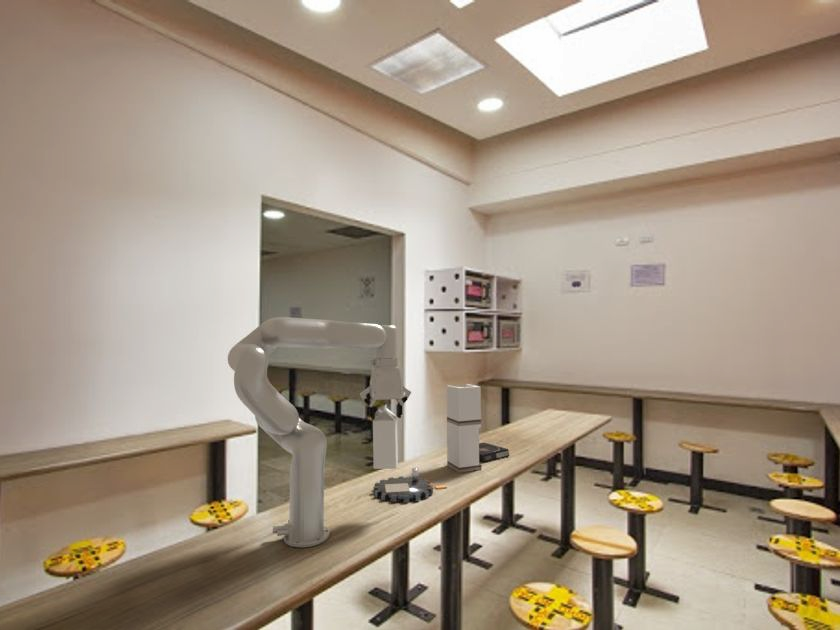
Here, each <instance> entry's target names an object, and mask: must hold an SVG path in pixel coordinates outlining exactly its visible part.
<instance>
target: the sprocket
mask: <svg viewBox="0 0 840 630" xmlns="http://www.w3.org/2000/svg"><path fill="white" fill-rule="evenodd" d="M372 489H373V493H372V494H373V495H374V497H375V498H381V499H380V500H381V501H389V500H390V501H391V503H398V502H403V503H409V502H411V501H415V502H419V501H420V502H421V499H428V498H429V497H430V496H432V495H433V494H434V483H431V481H430V480H425V479H424V478H423V477H419V468H417V467H413V468H411V476H409V477H404V476H398V477H388V479H381V480H379V482H375V483H374V485H373V487H372Z"/></svg>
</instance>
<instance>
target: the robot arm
mask: <svg viewBox="0 0 840 630" xmlns="http://www.w3.org/2000/svg"><path fill="white" fill-rule="evenodd" d="M278 347H279V348H295V349H296V348H298V349H299V348H301V349H325V350H327V349H328V350H329V349H345V348H346V349H349V348H351V349H371V350H372V349H373V358H372V359H369V365H373V367H372V368H371V372H370V377H369V378H370V380H369V386H368V387H367V388H366V389H364V390H363V391H362V392H360V393H359V396H360V397H361V399H362V401H363V402H364V403H365V404H366V405H368V417H370V419H371V420H372V421H373V420H374V419H375V417H376V415H375V413H376V408H375V406H374V405H375V403H376V402H377V401H382V400H383V401H386V400H395V401H396V403H397V404H396V407H395V408H396V414H395V415H396V416H397V419H402V415H403V406H404V405H405V403H406V402H407V401H408V399H409V397H410V396H411V394H412V391H411V390H409V389H408V388H406V387H405V386H403V378H402V371H401V368H400V367H398V328H397V327H396V325H392V324H391V325H390V324H381V325H380V324H377V323H366V322H351V321H349V322H348V321H341V320H339V321H337V320H331V319H321V318H320V319H319V318H318V319H317V318H302V317H301V318H300V317H290V316H289V317H287V316H286V317H285V316H279V317H272V318H268V319H267V320H265V321H264V322H262V323H261V324H260V325H259V326H258V327H256V328H255V329H254V330H252V331H251V332H250V333H248V334H247V335H246V336H245V337H244V338H243V339H241V340H240V341H238V342H237V343H236V344H234V345H233V346H232V347H231V349H230V350H229V352H228V355H227V364H228V365H229V367H230V369H231V370H232V371H233V372H234V374H233V385H234V390H235V391H234V392H235V394H236V396H237V397H238V399H239V400H240V401H241V403H242V404H243V405H244V406H245V407H246V408H247V409H248V410H249V411H250V412H251V413H252V414H253V416H254V418H255V421H256V424H257V425H258V426H259V427H260V429H262V431H264V432H265V433H266V434H267V435H268V436H269V437H270V438H271V439H272V440H274V442H275V443H277V444H278V445H279V446H280V447H281V448H282V449H283V450H285V451H286V452H288V453H290V454H291V455H292V458H291V465H290V467H289V468H290V469H289V519H288V521H287V523H284V524H283V525H274V526H272V534H273V535H274V534H276V535H277V537H279V536H283V542H284V543H285V544H286V545H287V546H289V547H293V548H294V547H295V548H310V547H314V546H318V545H321V544H322V543H324V542H326V541H327V540H328V539H329V538H330V529H329V528H328V527H326V526H325V463H326V462H325V460H326V455H327V448H328V445H327V444H328V443H327V442H328V441H327V437H326V436H325V434H324V432H323V431H322V430H321V429H320V428H319V427H317V426H314V425H312V424H310V423H307V422H305V421H304V420H302V419H301V418H300V417H299V416H300V415H299V412H298V409H297V408H296V407H295V406H294V404H292V403H291V402H290V401H288V400H287V398H286V397H284V396H283V395H282V394H281V393H280V392H279V391H278V390H277V389H276V388H275V387H274V386H273V384H272V383H271V382H270V380H269V377H268V368H269V362H270V357H269V356H270V354H272V353H273V352H274V351H275V350H276V349H277V348H278ZM403 392H404V393H405V394H403ZM368 394H369V396H370V399H368V398H367V395H368ZM403 395H404V396H403Z"/></svg>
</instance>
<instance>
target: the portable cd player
mask: <svg viewBox="0 0 840 630" xmlns="http://www.w3.org/2000/svg"><path fill="white" fill-rule="evenodd" d="M508 456H509V457H510V452H509V449H508V448H505V447H503V446H498V445H494V444H491V443H487V442H479V461H480V462H479V463H482V462H483V463H482V464H484V462H485V463H489V462H492V460H494V461H497V460H496V459H498V460H501V459H500V458H502V459H505V458H504V457H506V458H509V457H508ZM488 461H489V462H488Z"/></svg>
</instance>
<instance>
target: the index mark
mask: <svg viewBox="0 0 840 630" xmlns="http://www.w3.org/2000/svg"><path fill="white" fill-rule="evenodd" d="M434 488H435V490H442V489H443V488H444V489H447V488H448V487H447V485H445V484H442V485H434ZM444 489H443V490H444Z"/></svg>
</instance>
